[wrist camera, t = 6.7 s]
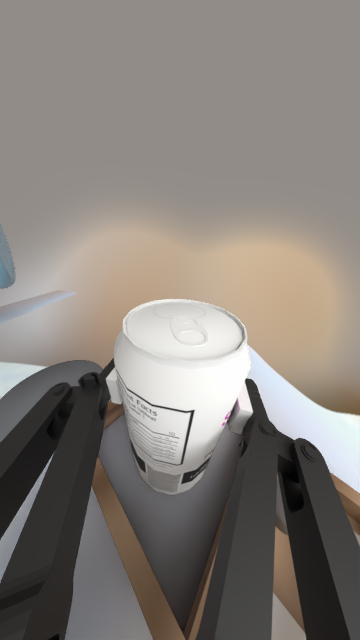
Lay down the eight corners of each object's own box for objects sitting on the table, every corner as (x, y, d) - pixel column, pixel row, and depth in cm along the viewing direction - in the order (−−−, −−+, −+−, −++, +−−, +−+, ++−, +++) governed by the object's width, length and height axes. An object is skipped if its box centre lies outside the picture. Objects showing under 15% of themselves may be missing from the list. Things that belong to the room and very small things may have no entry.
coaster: (-13, 395, 18) (-15, 393, 18) (87, 352, 27) (87, 350, 26) (-15, 487, 12) (-17, 486, 11) (120, 392, 20) (119, 390, 20)
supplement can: (136, 406, 18) (122, 296, 11) (196, 397, 20) (218, 296, 13) (128, 510, 11) (76, 390, 4) (223, 482, 13) (306, 362, 6)
